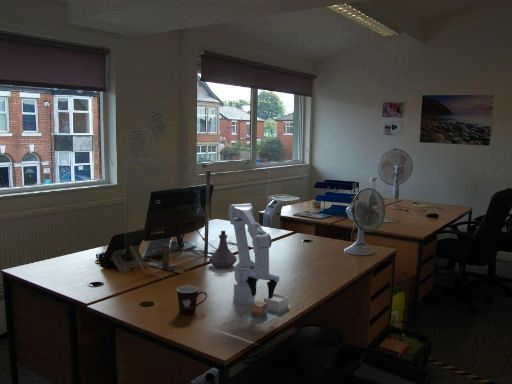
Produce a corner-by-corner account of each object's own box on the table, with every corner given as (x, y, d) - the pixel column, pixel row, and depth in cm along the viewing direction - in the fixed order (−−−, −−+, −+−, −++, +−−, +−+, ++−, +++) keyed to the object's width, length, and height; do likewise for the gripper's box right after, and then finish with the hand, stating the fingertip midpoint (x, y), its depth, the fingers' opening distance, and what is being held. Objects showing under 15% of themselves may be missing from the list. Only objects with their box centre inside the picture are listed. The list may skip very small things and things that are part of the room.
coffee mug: (173, 314, 190) (172, 291, 189) (183, 306, 198) (183, 284, 196) (198, 319, 186) (198, 295, 184) (207, 311, 194) (208, 288, 192)
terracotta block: (260, 318, 186) (261, 306, 185) (251, 315, 188) (251, 304, 187) (266, 314, 189) (267, 303, 188) (257, 312, 192) (258, 300, 191)
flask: (213, 272, 245) (213, 235, 242) (204, 263, 260) (204, 229, 257) (242, 269, 251) (242, 233, 248) (231, 260, 266) (231, 226, 263)
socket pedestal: (278, 312, 192) (279, 301, 192) (263, 308, 196) (264, 297, 196) (288, 306, 198) (288, 296, 198) (273, 302, 202) (273, 292, 202)
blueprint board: (264, 325, 181) (264, 323, 181) (241, 318, 187) (241, 316, 187) (292, 308, 199) (292, 306, 199) (270, 302, 205) (270, 300, 205)
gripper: (241, 264, 186) (241, 297, 188) (273, 268, 180) (273, 302, 181) (250, 260, 193) (250, 292, 194) (281, 264, 186) (281, 297, 187)
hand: (262, 296), depth 188 cm, fingers open, 7 cm apart
